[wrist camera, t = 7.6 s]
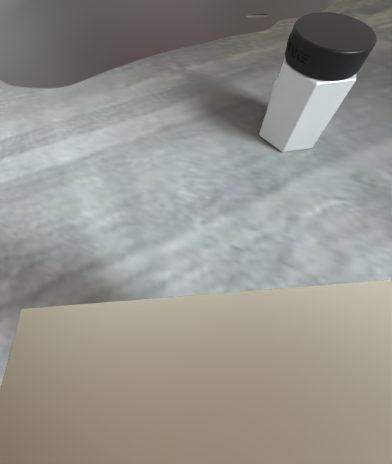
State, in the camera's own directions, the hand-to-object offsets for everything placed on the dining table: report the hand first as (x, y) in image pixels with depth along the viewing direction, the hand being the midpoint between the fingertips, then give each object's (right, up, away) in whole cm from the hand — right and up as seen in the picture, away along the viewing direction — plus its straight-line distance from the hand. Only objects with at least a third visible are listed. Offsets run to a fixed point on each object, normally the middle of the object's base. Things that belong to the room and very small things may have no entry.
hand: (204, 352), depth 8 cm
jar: (+13, +19, +25) cm, 34 cm away
